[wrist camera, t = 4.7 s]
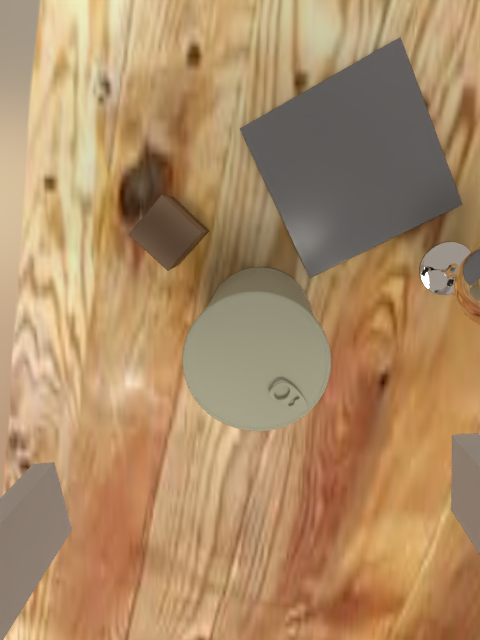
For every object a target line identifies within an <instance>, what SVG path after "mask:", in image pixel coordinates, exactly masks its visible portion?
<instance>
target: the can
mask: <svg viewBox="0 0 480 640" xmlns="http://www.w3.org/2000/svg"><path fill="white" fill-rule="evenodd" d="M183 370H184V376H185V379H186V382H187V385H188V387H189V389H190V391H191V393H192V395H193V397H194V398H195V400H196V401H197V402H198V404H199V405H200V406H201V407H202V408H203V409H204V410H205V411H206V412H207V413H208V414H210V415H211V416H212V417H214V418H215V419H217V420H219V421H220V422H222V423H224V424H227V425H229V426H232V427H235V428H238V429H242V430H249V431H267V430H273V429H278V428H281V427H284V426H287V425H289V424H291V423H293V422H295V421H297V420H298V419H300V418H302V417H303V416H304V415H306V414H307V413H308V412H309V411H310V410H311V409H312V408H313V407H314V406H315V405H316V404H317V402H318V401H319V399H320V398H321V396H322V395H323V393H324V391H325V389H326V386H327V384H328V380H329V376H330V371H331V353H330V347H329V343H328V340H327V337H326V335H325V333H324V331H323V329H322V327H321V325H320V324H319V322H318V321H317V320H316V319H315V317H314V315H313V313H312V311H311V306H310V303H309V300H308V298H307V295H306V294H305V292H304V290H303V289H302V288H301V286H300V285H299V284H298V283H297V282H296V281H295V280H294V279H293V278H291V277H290V276H288V275H287V274H285V273H283V272H281V271H278V270H275V269H271V268H265V267H255V268H248V269H244V270H241V271H239V272H237V273H235V274H233V275H231V276H230V277H228V278H227V279H226V280H225V281H223V282H222V284H221V285H220V286H219V287H218V288H217V290H216V291H215V293H214V295H213V297H212V299H211V302H210V304H209V305H208V307H207V308H206V309H205V310H204V311H203V312H202V313H201V314H200V315H199V317H198V318H197V319H196V320H195V322H194V323H193V325H192V327H191V328H190V330H189V333H188V335H187V337H186V340H185V344H184V348H183Z"/></svg>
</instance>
